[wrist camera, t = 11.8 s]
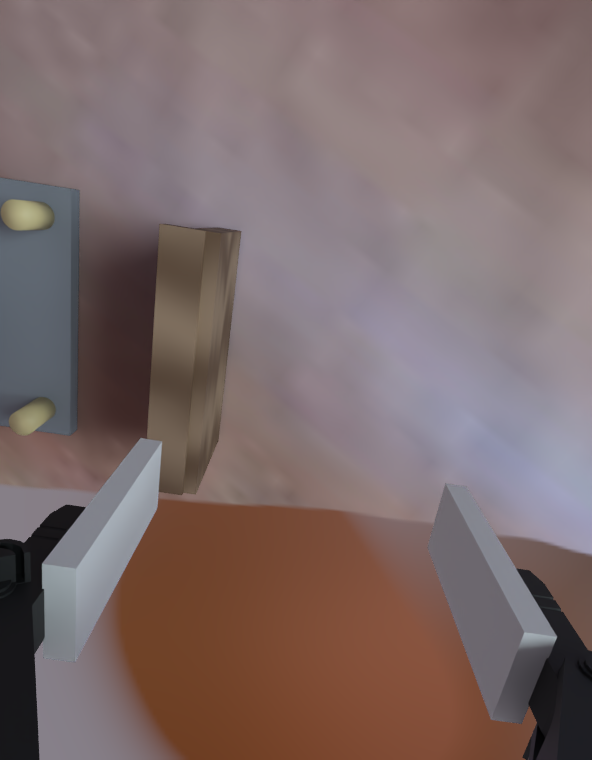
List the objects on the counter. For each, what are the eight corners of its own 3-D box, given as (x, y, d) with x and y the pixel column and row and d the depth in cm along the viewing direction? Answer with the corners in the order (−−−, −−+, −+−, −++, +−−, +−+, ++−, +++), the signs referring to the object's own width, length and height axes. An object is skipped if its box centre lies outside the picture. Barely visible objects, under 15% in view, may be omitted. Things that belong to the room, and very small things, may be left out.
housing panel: (195, 224, 33) (159, 223, 25) (241, 231, 33) (220, 233, 25) (178, 434, 38) (143, 489, 30) (218, 440, 38) (194, 496, 30)
